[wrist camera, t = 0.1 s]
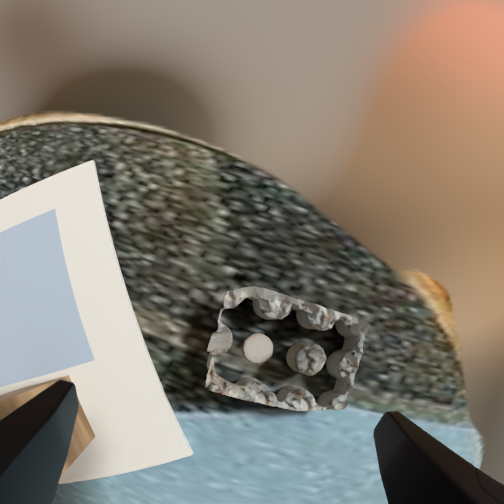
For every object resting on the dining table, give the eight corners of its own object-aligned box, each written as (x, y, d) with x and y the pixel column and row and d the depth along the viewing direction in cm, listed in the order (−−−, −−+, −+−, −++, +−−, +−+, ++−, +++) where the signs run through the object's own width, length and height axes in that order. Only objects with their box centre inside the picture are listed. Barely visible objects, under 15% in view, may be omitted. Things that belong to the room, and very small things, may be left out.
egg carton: (196, 379, 22) (196, 391, 18) (226, 282, 24) (232, 274, 20) (327, 410, 23) (350, 423, 19) (352, 322, 25) (379, 320, 21)
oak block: (95, 436, 19) (29, 513, 7) (45, 446, 17) (-34, 509, 6) (69, 375, 19) (-25, 409, 8) (20, 388, 18) (-79, 419, 7)
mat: (192, 452, 20) (193, 454, 20) (14, 485, 16) (11, 487, 15) (94, 162, 24) (93, 159, 23) (-58, 234, 19) (-61, 233, 19)
